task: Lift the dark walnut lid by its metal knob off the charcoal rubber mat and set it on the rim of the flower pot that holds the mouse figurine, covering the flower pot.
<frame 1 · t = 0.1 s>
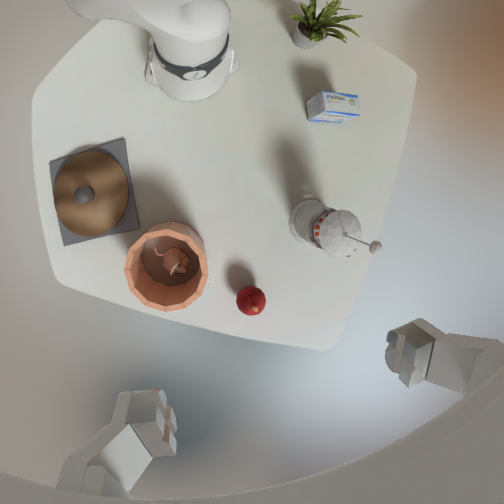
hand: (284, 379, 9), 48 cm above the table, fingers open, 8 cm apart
mouse figurine: (170, 256, 55), resting in flower pot
lid: (90, 193, 48), resting on mat
house plant: (304, 45, 49), on the table
red pomegranate: (247, 293, 60), on the table
flower pot: (171, 257, 55), on the table
french press: (313, 225, 59), on the table
mat: (91, 193, 49), on the table
medicine box: (323, 112, 53), on the table
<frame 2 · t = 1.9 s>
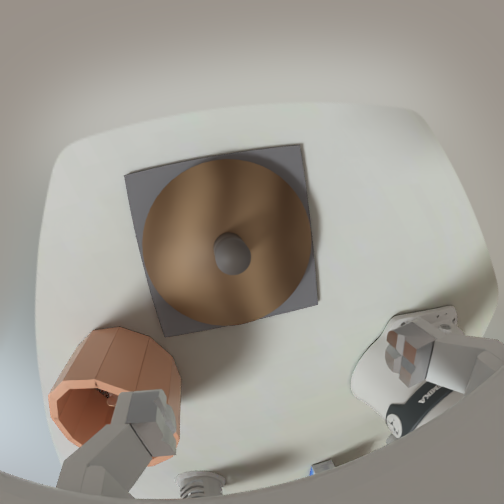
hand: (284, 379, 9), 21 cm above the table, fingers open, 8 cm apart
lid: (227, 245, 29), resting on mat
flower pot: (126, 375, 31), on the table
french press: (197, 482, 39), on the table
mat: (227, 244, 29), on the table
medicine box: (319, 469, 44), on the table
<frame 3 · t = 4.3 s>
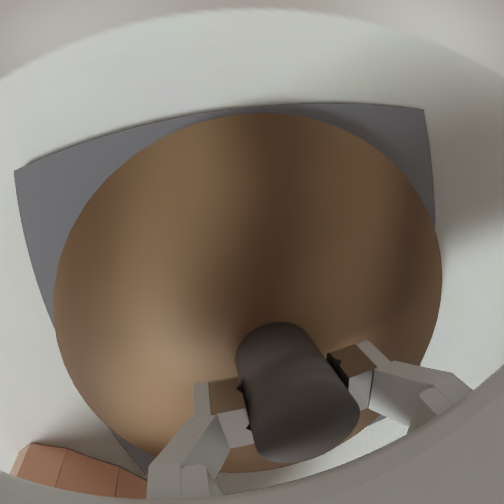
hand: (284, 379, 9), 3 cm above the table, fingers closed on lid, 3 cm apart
lid: (267, 340, 11), resting on mat, touching gripper
flower pot: (95, 493, 13), on the table
mat: (265, 334, 12), on the table
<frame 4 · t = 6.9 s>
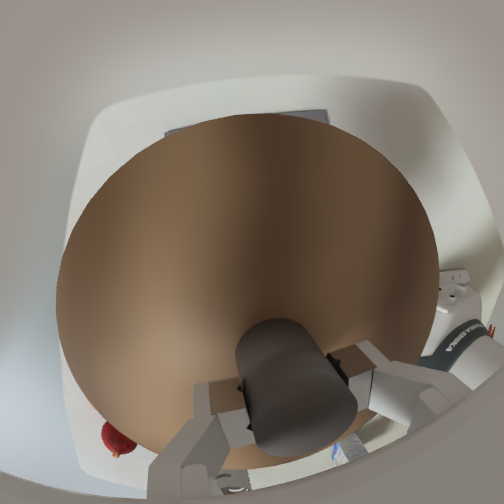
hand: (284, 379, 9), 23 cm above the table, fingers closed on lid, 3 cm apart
lid: (267, 337, 11), point 21 cm above the table, touching gripper
red pomegranate: (123, 418, 35), on the table
french press: (220, 462, 41), on the table
mat: (261, 197, 31), on the table
medicine box: (342, 444, 45), on the table
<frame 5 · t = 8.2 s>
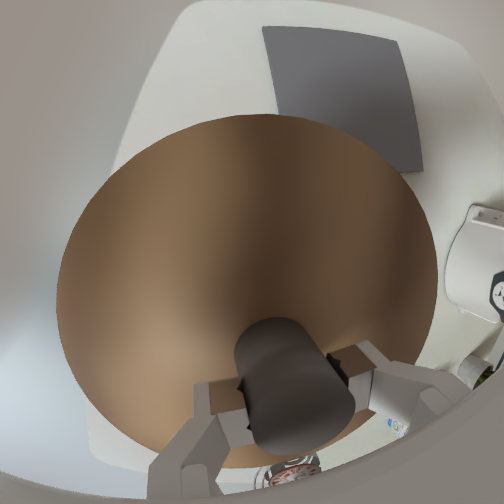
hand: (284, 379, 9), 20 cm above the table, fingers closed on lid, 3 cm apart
lid: (265, 336, 12), point 17 cm above the table, touching gripper
house plant: (460, 367, 43), on the table
french press: (274, 432, 37), on the table
mat: (353, 98, 26), on the table
medicine box: (400, 405, 41), on the table
when the fingers open (14 cm above the table, at t = 9.5 s): lid stays where it is, resting on flower pot.
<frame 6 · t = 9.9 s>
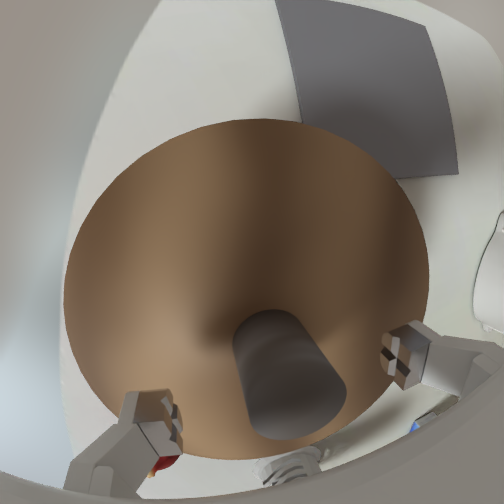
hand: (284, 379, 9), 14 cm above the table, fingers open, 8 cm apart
lid: (263, 328, 12), point 10 cm above the table, touching flower pot
red pomegranate: (154, 413, 24), on the table
french press: (282, 466, 30), on the table
mat: (383, 84, 20), on the table
medicine box: (416, 428, 35), on the table
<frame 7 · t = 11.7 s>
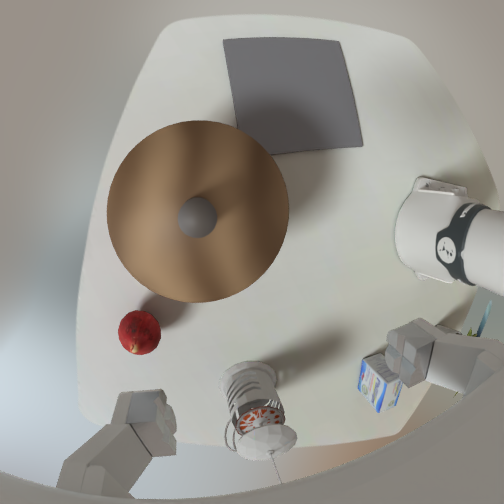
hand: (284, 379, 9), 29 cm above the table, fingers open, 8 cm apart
lid: (197, 212, 26), point 10 cm above the table, touching flower pot
red pomegranate: (143, 319, 38), on the table
french press: (244, 386, 43), on the table
mat: (295, 90, 34), on the table
medicine box: (368, 370, 49), on the table
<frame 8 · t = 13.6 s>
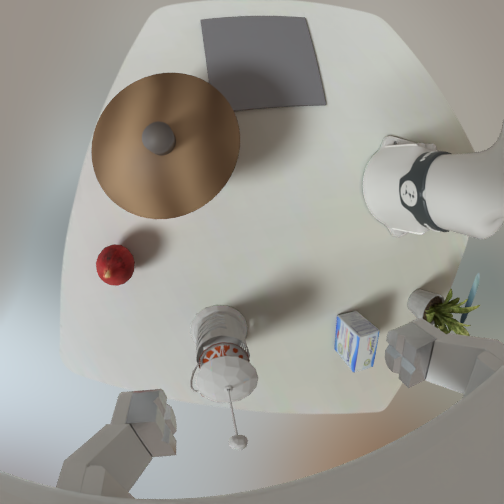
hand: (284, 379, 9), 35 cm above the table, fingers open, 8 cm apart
lid: (163, 143, 29), point 10 cm above the table, touching flower pot
house plant: (411, 302, 53), on the table
red pomegranate: (122, 258, 41), on the table
french press: (215, 333, 47), on the table
mat: (263, 58, 37), on the table
medicine box: (344, 329, 51), on the table
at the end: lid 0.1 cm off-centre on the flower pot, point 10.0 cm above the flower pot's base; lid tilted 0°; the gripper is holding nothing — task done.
